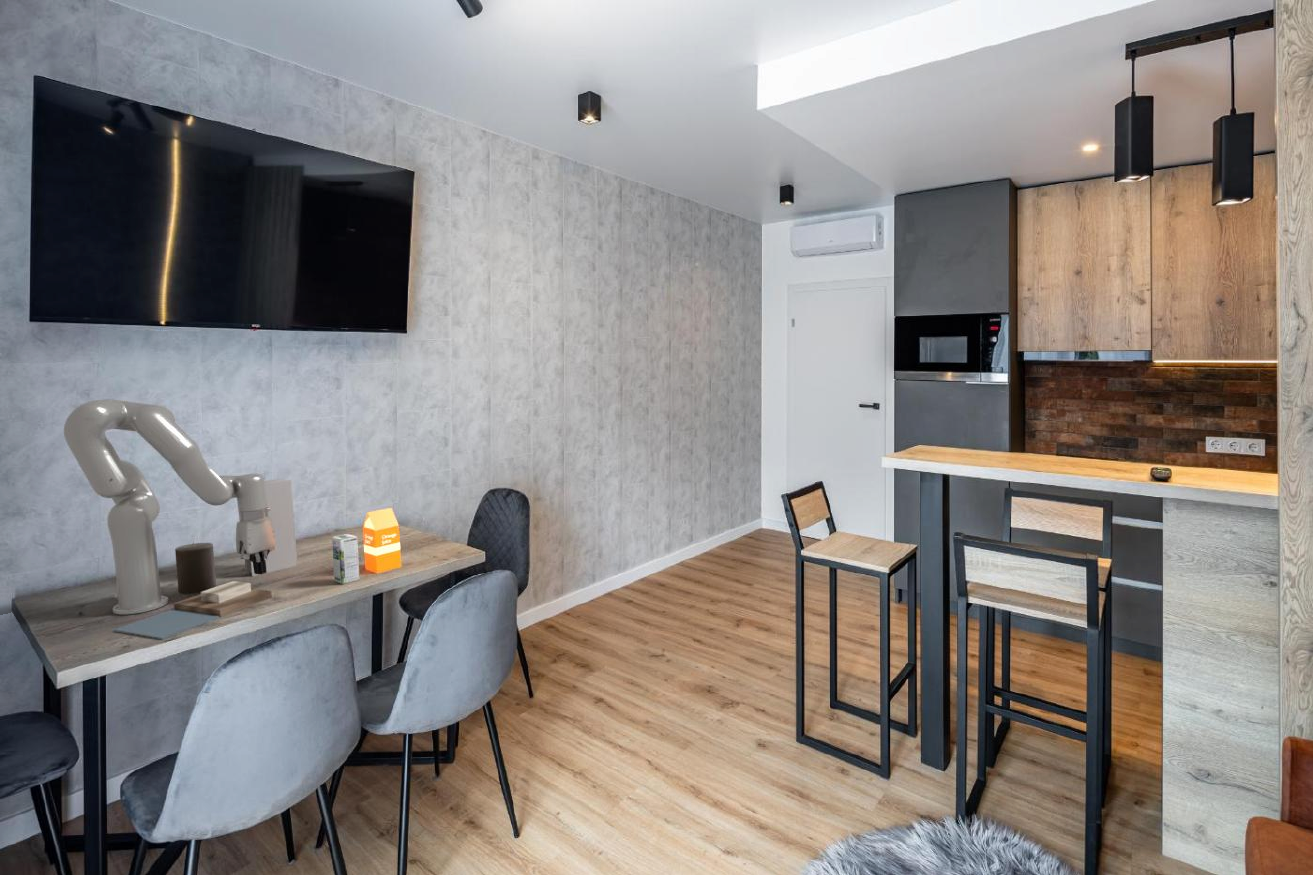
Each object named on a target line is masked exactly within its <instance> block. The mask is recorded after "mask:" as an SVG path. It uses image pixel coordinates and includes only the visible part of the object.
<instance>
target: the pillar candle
mask: <svg viewBox="0 0 1313 875" xmlns="http://www.w3.org/2000/svg"><path fill="white" fill-rule="evenodd" d="M174 550H175V563H176V564H175V565H176V577H177V591H178V593H179V594H181V595H193V594H194V595H195V594H201V592H202V591H205V590H208V589H211V588H214V587H217V578H216V567H215V556H214V555H215V553H214V552H215V551H214V543H211V542H198V543H197V542H196V543H194V542H192V543H189V544H184V545H181V546H178V547H177V546H176V548H174Z"/></svg>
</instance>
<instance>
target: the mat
mask: <svg viewBox="0 0 1313 875" xmlns="http://www.w3.org/2000/svg"><path fill="white" fill-rule="evenodd" d="M219 618H220V617H219V616H215V615H208V614H201V613H194V612H188V611H181V610H174V608H172V609H169V610H166V611H163V612H160V613H158V614H155V615H151V616H148V617H146V618H144V619H141V620H137V621H135V622H132V623H128V624H127V625H124V626H121V627H117V628H115V629H113V632H114V633H120V634H121V633H122V634H126V635H132V634H134V635H133V636H137V635H142V636H141V637H143V636H147V637H146V638H149V637H152V638H151V639H155V638H157V639H156V640H161V641H163V640H165V638H166V639H169V638H170V636H171V637H173V636H172V635H174V634H176V635H178V634H181V633H184V632H186V631H188V630H191V629H194V628H196V626H197V627H199V626H201V624H202V625H204V624H206V623H205V622H207V623H209V622H208V621H210V620H212V619H215V620H217V619H219ZM212 621H213V620H212ZM210 622H211V621H210ZM203 623H204V624H203ZM198 625H199V626H198ZM174 636H175V635H174Z"/></svg>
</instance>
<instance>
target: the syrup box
mask: <svg viewBox="0 0 1313 875" xmlns="http://www.w3.org/2000/svg"><path fill="white" fill-rule="evenodd" d="M331 545H332V561H333V562H332V565H333V578H334V579H333V580H334V582H337V583H339V584H342V585H345V584H348V583H352V582H355V581H359V580H360V565H359V564H360V562H359V545H358V536H357V535H352V534H350V533H344V534H343V533H342V534H339V535H338V534H337V535H334V536H332V537H331Z"/></svg>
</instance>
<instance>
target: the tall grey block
mask: <svg viewBox="0 0 1313 875" xmlns="http://www.w3.org/2000/svg"><path fill="white" fill-rule="evenodd" d="M264 483H265V492H266V501H267V507H269V508H270V511H269V512H268V516H270V518H271V521H272V524H273V528H274V533H275V546H274V547H275V549H274V550H273V551H271V552H269V554H268V556H267V559H266V560H265V561H266V571H267V572H266V573H263V574H262V575H264V574H268V573H272V572H277V571H281V570H286V569H289V568H293V567H294V566H295V567H298V556H297V555H298V554H297V540H296V529H295V517H294V515H295V514H294V513H295V512H294V503H293V489H292V479H288V480H286V479H285V478H277V479H271V480H264ZM248 555H249V554H248ZM244 566H245V567H244V569H245V573H246V574H251V576H252V577H257V576H260V574H255V573H254V568H253V562H251V561H250V560H249V559H244Z"/></svg>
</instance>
